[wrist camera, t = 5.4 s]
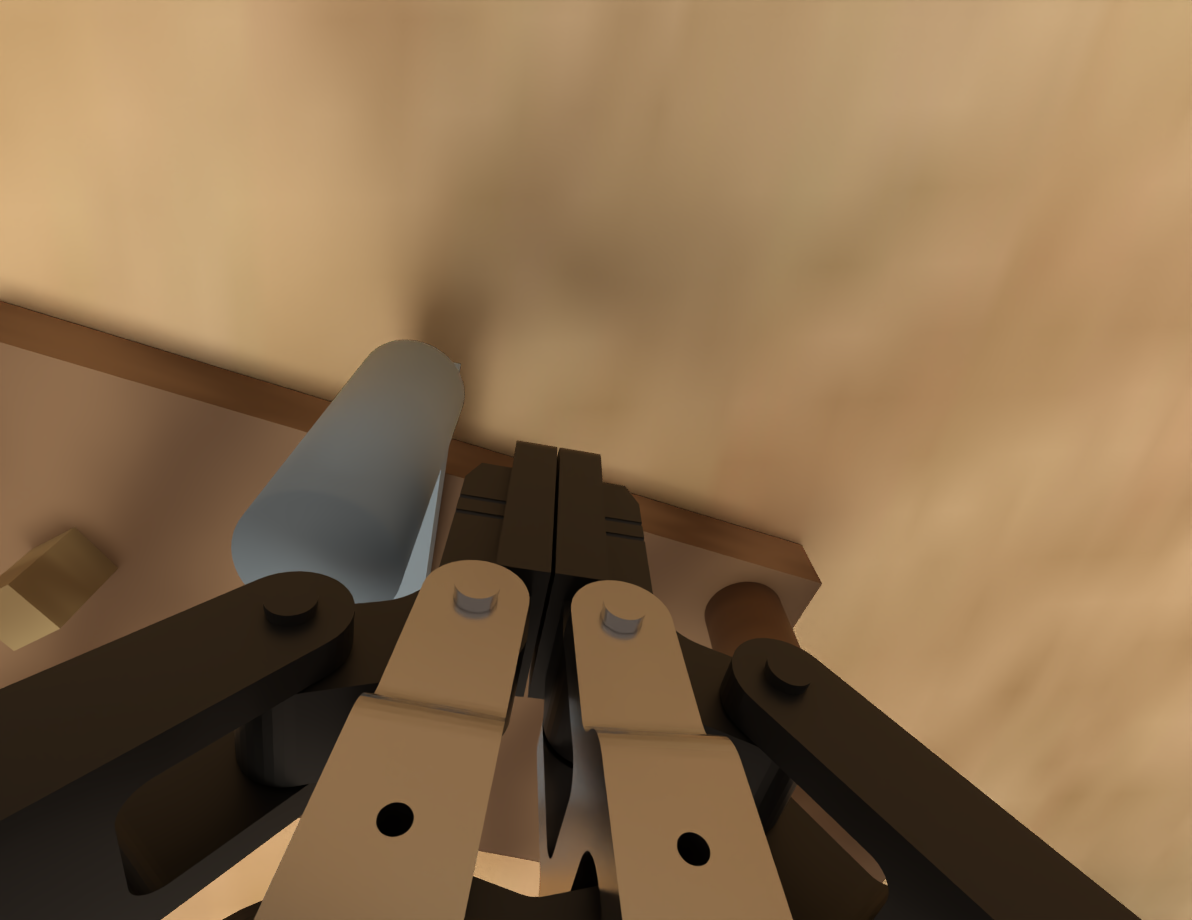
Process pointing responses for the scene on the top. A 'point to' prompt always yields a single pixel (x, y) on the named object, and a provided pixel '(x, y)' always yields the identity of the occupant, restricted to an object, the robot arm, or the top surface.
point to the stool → (226, 490)
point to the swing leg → (362, 481)
